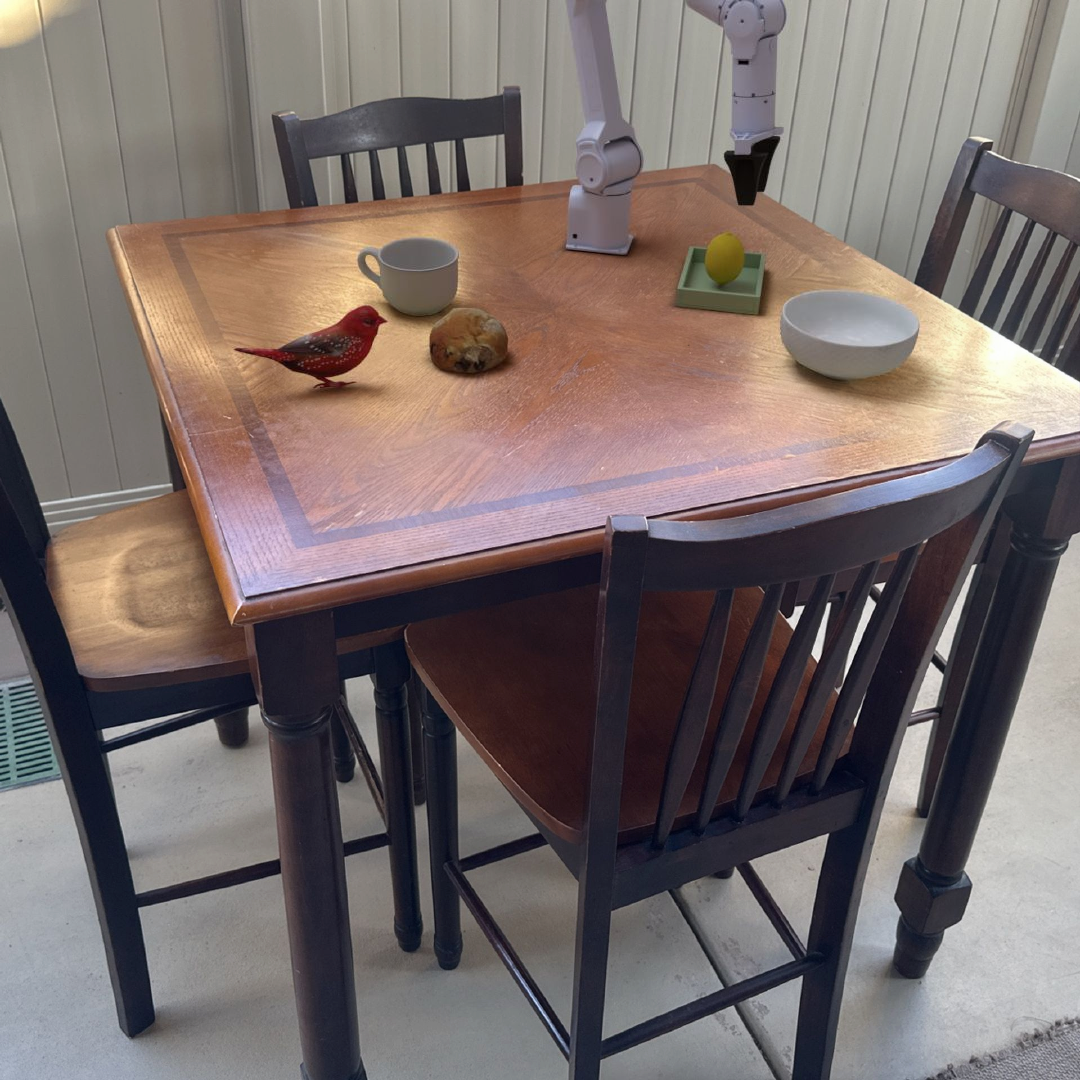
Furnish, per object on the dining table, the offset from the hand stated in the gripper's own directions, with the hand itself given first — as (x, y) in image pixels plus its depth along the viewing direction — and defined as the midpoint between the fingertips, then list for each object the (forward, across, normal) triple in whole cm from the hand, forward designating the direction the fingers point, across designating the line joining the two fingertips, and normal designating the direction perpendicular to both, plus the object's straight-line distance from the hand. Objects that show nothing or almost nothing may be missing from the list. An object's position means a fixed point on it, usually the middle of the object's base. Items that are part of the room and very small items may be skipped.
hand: (751, 198), depth 156 cm
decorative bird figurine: (+11, -52, +41) cm, 67 cm away
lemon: (+12, -1, +4) cm, 13 cm away
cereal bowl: (+16, -20, -16) cm, 30 cm away
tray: (+13, 0, +4) cm, 13 cm away
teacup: (+9, -25, +42) cm, 50 cm away
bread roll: (+12, -37, +28) cm, 48 cm away
